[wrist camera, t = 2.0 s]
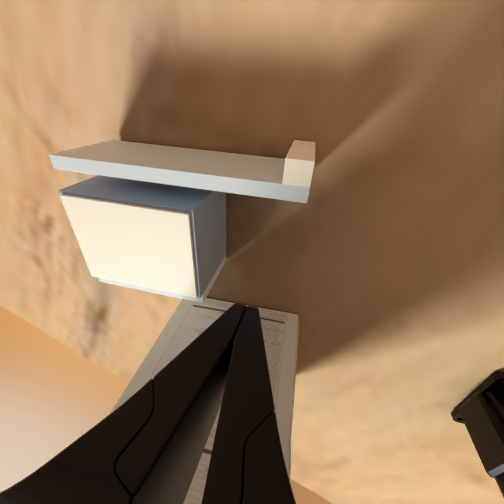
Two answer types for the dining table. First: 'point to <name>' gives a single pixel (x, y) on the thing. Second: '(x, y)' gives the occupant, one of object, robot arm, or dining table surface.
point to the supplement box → (283, 386)
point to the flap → (198, 168)
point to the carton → (149, 234)
